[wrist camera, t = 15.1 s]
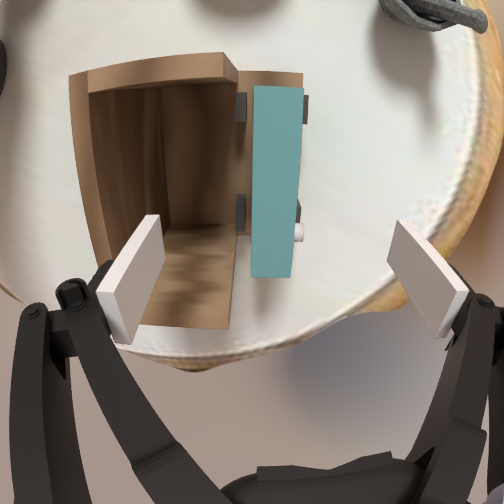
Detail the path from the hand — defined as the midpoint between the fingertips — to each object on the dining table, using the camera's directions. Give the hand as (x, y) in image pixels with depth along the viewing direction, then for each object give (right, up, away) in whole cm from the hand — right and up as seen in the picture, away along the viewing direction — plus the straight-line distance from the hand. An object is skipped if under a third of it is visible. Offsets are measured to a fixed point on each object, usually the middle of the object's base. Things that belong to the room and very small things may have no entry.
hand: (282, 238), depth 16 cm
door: (0, +10, +17) cm, 20 cm away
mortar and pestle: (+17, +30, +7) cm, 35 cm away
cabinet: (-5, +11, +18) cm, 22 cm away
